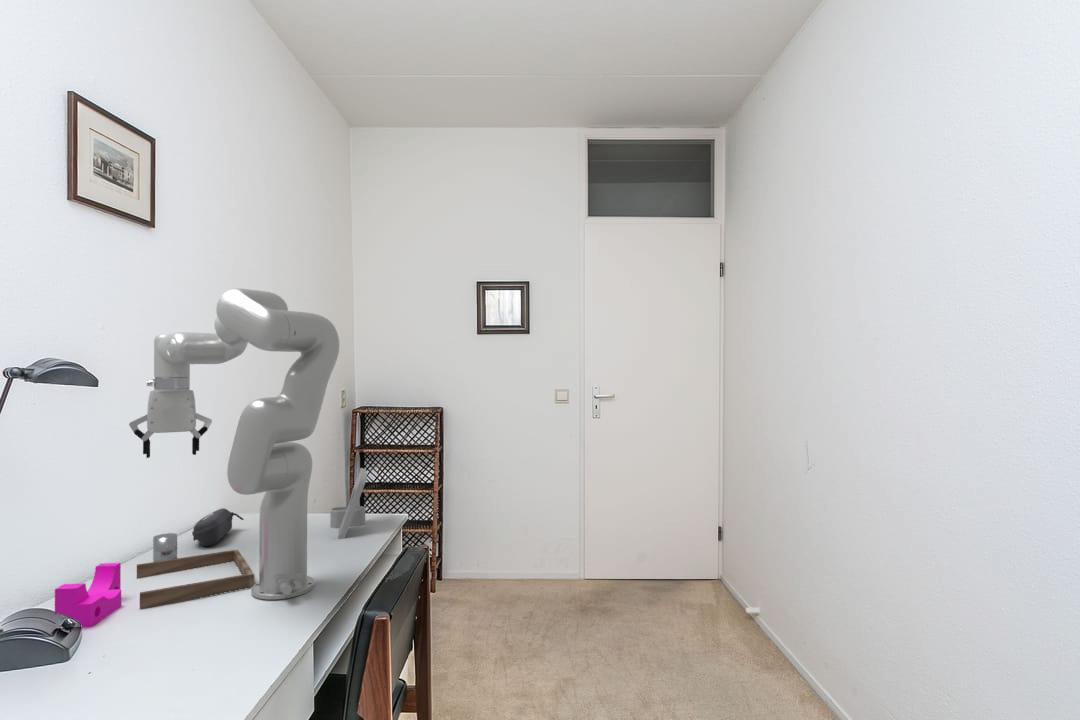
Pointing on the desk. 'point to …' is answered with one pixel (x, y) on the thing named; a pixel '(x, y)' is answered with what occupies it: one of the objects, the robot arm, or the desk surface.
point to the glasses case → (213, 527)
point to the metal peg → (164, 547)
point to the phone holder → (350, 509)
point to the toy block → (91, 596)
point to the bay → (194, 589)
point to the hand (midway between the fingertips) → (171, 455)
